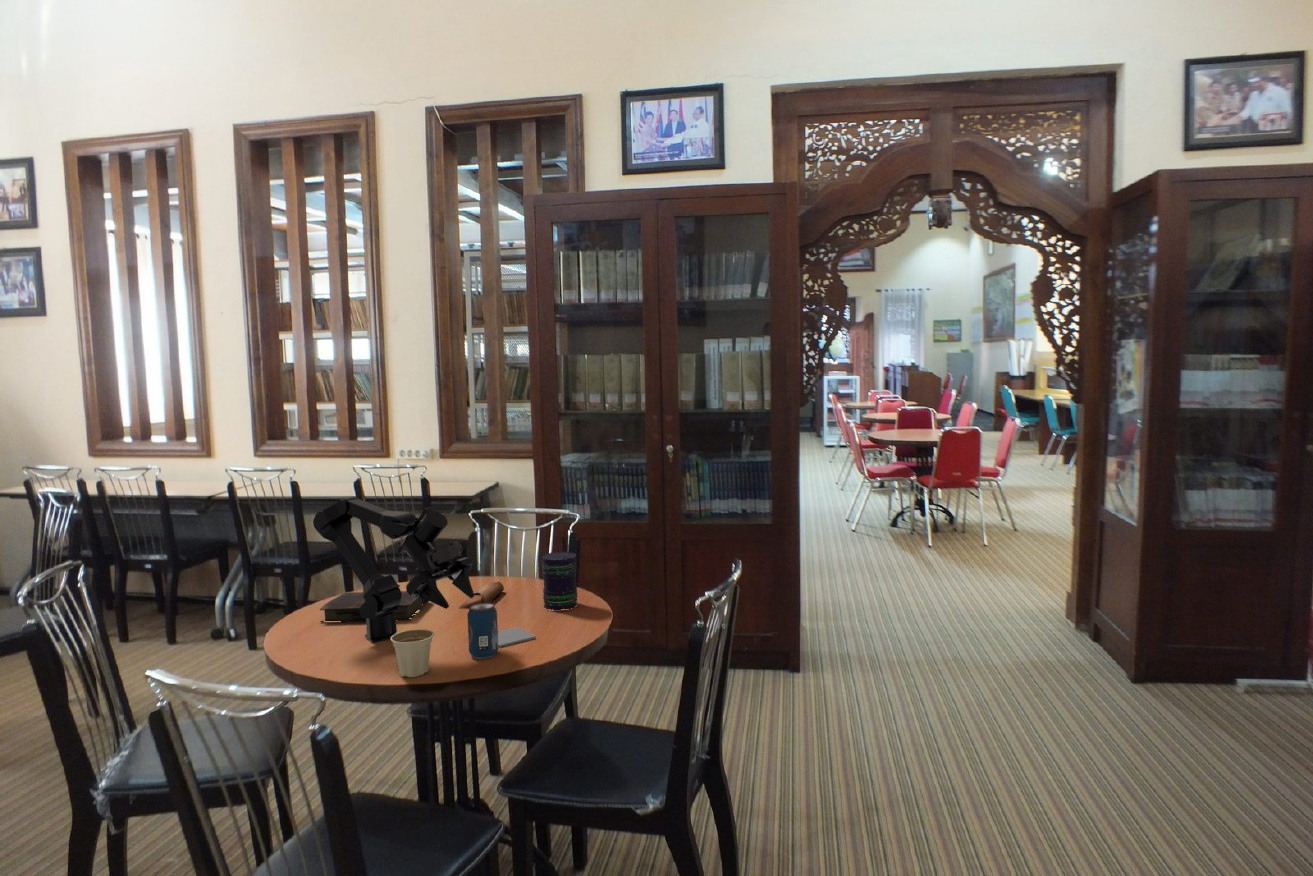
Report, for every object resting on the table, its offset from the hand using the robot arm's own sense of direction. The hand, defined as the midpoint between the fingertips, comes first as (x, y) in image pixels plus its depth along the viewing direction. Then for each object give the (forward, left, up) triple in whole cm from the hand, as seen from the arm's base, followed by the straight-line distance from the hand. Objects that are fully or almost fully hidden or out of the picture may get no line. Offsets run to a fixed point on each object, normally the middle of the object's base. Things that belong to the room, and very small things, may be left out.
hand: (460, 602), depth 186 cm
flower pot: (-14, -6, -12) cm, 20 cm away
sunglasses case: (+22, +38, -13) cm, 46 cm away
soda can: (+3, -6, -12) cm, 14 cm away
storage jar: (+37, +16, -12) cm, 42 cm away
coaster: (+13, +1, -12) cm, 18 cm away
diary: (-6, +47, -13) cm, 49 cm away
